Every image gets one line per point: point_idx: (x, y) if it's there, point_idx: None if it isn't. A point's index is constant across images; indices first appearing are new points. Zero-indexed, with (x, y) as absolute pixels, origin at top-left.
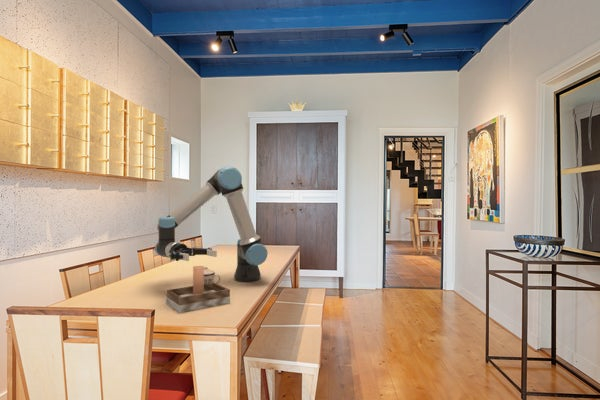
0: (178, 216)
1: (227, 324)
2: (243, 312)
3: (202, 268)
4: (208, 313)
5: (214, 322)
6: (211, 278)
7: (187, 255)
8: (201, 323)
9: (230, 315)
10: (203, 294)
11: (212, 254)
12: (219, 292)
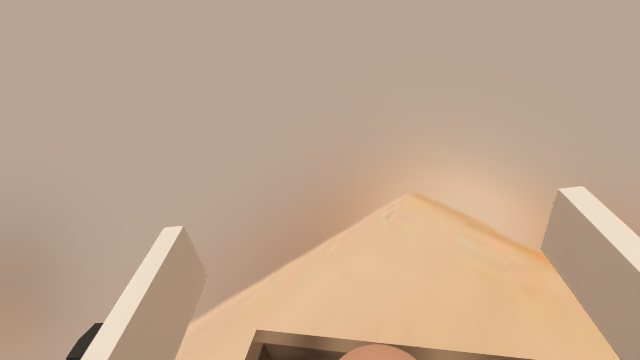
0: None
1: (414, 209)
2: (322, 250)
3: (359, 355)
4: (421, 310)
5: (438, 233)
6: None
7: (578, 195)
8: (478, 246)
9: (369, 252)
10: (410, 348)
11: (179, 307)
12: (316, 339)
